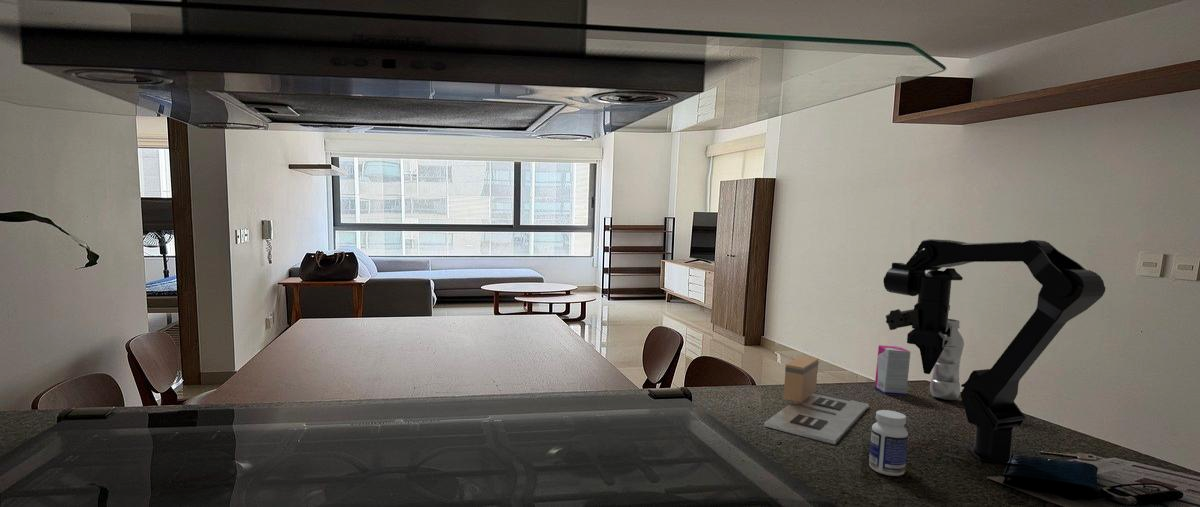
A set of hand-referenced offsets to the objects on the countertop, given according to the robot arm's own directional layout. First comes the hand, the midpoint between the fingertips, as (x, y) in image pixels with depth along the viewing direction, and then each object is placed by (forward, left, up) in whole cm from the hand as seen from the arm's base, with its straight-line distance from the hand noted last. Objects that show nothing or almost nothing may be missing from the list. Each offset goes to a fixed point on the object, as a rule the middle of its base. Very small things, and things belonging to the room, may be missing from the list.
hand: (926, 373), depth 122 cm
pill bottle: (-24, +14, -12) cm, 30 cm away
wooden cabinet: (+12, +23, -11) cm, 28 cm away
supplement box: (+28, -2, -12) cm, 31 cm away
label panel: (+2, +20, -12) cm, 24 cm away
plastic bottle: (+26, -14, -12) cm, 32 cm away
